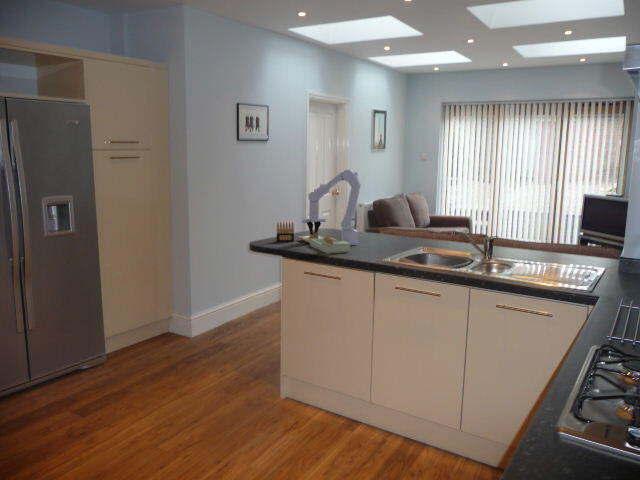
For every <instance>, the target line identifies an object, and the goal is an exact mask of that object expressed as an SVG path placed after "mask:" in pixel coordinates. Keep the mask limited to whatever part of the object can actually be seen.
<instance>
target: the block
mask: <svg viewBox="0 0 640 480" xmlns="http://www.w3.org/2000/svg"><path fill="white" fill-rule="evenodd" d="M332 238H333V237H329V236H328V237H325V238H324V243H325V244H327V245H333V239H332Z"/></svg>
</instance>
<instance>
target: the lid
mask: <svg viewBox="0 0 640 480" xmlns="http://www.w3.org/2000/svg"><path fill="white" fill-rule="evenodd" d="M297 238H298V239H300V240H301V241H304V242H307V243H309V244H310V239H318V238H326V237H325V236H322V235H319V232H315V230H313V234H312V235H311V234H310V233H309V235H300V236H299V235H298V236H297Z"/></svg>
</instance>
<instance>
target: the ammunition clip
mask: <svg viewBox="0 0 640 480" xmlns="http://www.w3.org/2000/svg"><path fill="white" fill-rule="evenodd" d="M294 231H295V228H294V222H293V221H292V222H290V221H289V223H288V222H287V221H286V222H284V221H283V223H282V222H280V223H279V222H277V223H276V237H275V238H276V239H275V242H276V243H288V242H289V243H291V242H293V241H294V242H295V232H294Z"/></svg>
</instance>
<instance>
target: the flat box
mask: <svg viewBox="0 0 640 480" xmlns="http://www.w3.org/2000/svg"><path fill="white" fill-rule="evenodd" d="M331 238H332V239H333V245H327V244H325V243H324V238H318V239H310V242H309V247H311V248H313V249H316V250H318V251H320V252H322V253H325V254H327V255H328V254H343V253H345V254H346V253H350V252H351V245H350V243H348V242H346V241H342V240H338V239H337V238H336V239H335V238H334V237H331Z"/></svg>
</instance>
